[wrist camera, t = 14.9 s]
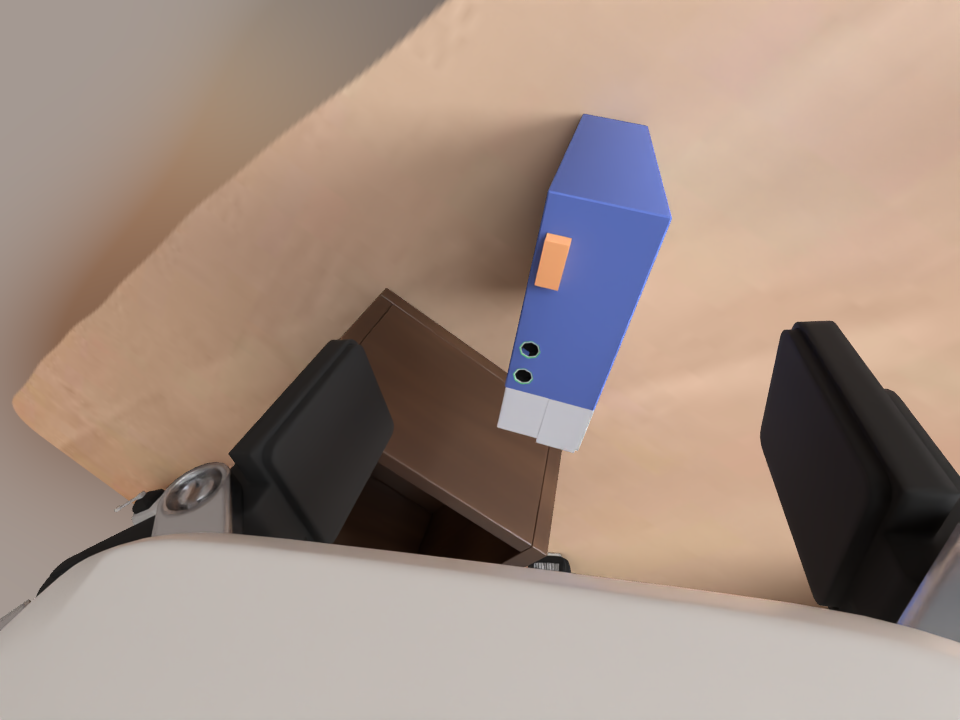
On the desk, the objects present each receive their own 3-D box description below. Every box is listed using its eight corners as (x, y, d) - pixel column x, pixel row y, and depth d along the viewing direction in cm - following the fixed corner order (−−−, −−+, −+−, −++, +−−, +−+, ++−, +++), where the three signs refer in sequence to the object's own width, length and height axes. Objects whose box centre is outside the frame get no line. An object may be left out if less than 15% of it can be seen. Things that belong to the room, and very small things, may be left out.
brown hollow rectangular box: (386, 287, 27) (290, 393, 19) (566, 415, 29) (547, 556, 21) (301, 428, 37) (216, 534, 29) (440, 514, 39) (395, 634, 31)
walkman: (582, 113, 19) (543, 195, 10) (648, 125, 19) (675, 223, 9) (542, 278, 24) (490, 440, 14) (594, 291, 23) (575, 465, 14)
